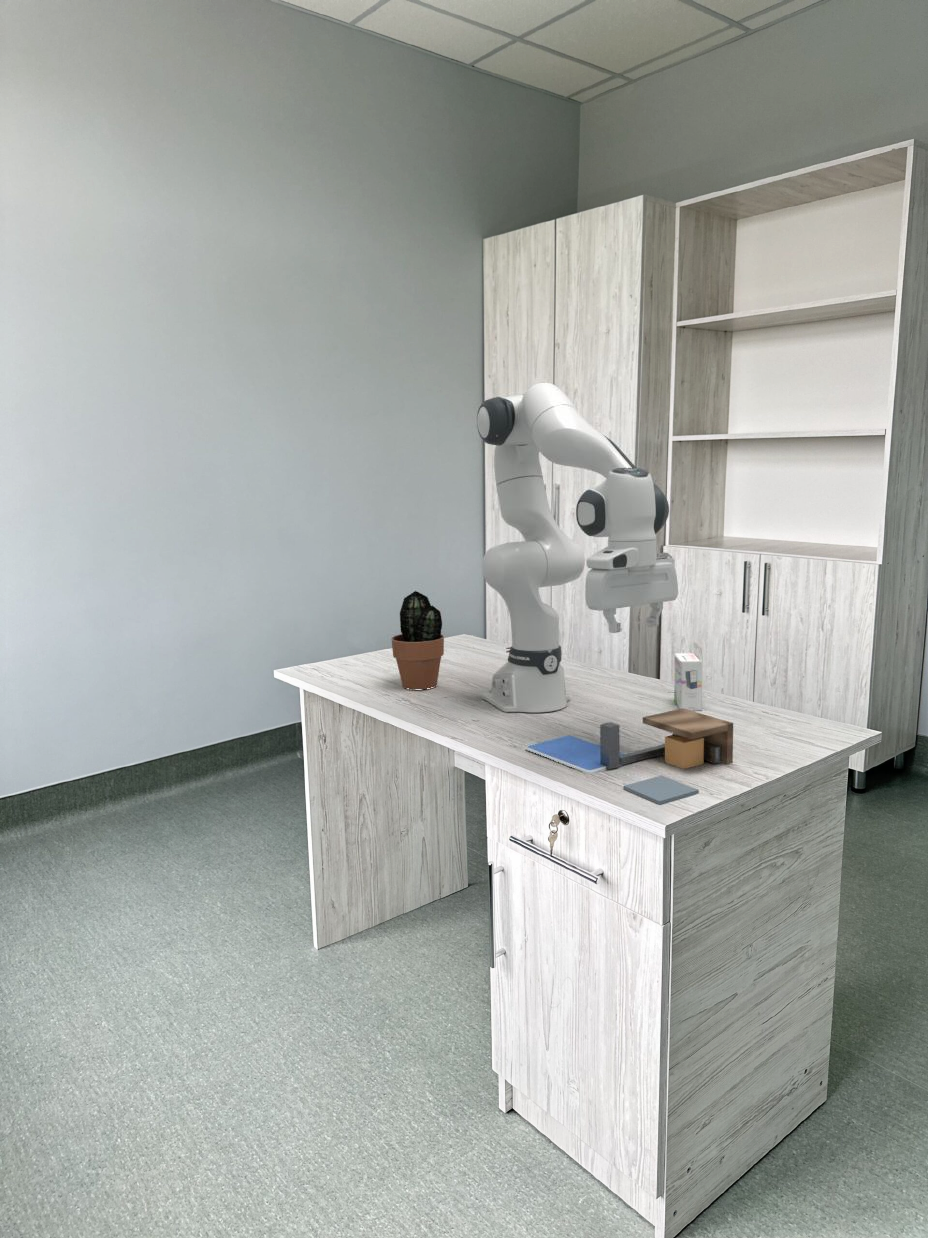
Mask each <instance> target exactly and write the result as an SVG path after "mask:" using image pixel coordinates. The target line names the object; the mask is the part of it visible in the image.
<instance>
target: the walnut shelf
mask: <svg viewBox="0 0 928 1238" xmlns="http://www.w3.org/2000/svg"><path fill="white" fill-rule="evenodd" d="M642 724H644V725H647V726H650V727H653V728H656V729H658V730H662V731H665V732H668V733H672V734H673V733H674V734H677V735H680V736H683V737H686V738H689V739H692V740H693V739H697V738H701V737H702V738H704V741H706V742H709V743H712V744H715V745H718V746H721V762H720V763H722V764H725V765H730V764H733V762H734V761H733V759H734V722H731V721H727V720H724V719H720V718H716V717H713V716H711V715H707V714H703V713H701V712H697V711H690V710H687V709H684V708H682V709H680V708H679V709H678V708H677V709H673V710H670V711H665V712H660V713H657V714H656V713H655V714H652V715H646V716H644V717H642Z"/></svg>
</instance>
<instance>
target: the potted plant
mask: <svg viewBox="0 0 928 1238" xmlns="http://www.w3.org/2000/svg"><path fill="white" fill-rule="evenodd" d="M428 597H429V596H427V595H424V594H422V593H421V592H418V591H417V590H414V591H413V592H412V593H410V594H408V595H407V596H405V597H404V598H403V601H402V605H401V608H400V611H399V622H400V624H399V625H400V626H399V627H400V634H397V635H394V636H391V647H392V649H391V650H392V656H393V658H394V659H395V661H396V665H397V668H398V671H399V677H400V681H401V685H402V688H403V687H405V688H409V689H427V688H431V687H434V686H436V685H437V686H438V679H439V673H440V668H441V667H440V666H441V661H442V657H443V656H444V654H445V653H444V652H445V651H444V650H445V647H444V646H445V645H444V644H445V635H443V634H442V630H443V629H442V627H443V620H442V619H443V618H442V614H441V611H440V610H439V609H437V608H436V607H435V606H434V605H431V601H430V600H429V598H428ZM437 686H436V687H437ZM405 688H404V689H405ZM434 688H435V687H434Z"/></svg>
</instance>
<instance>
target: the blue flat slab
mask: <svg viewBox="0 0 928 1238" xmlns="http://www.w3.org/2000/svg"><path fill="white" fill-rule="evenodd" d="M524 750H525V751H526V750H527V752H529V751H530V753H532V752H533V754H535V753H536V755H538V754H539V755H538V756H540V755H541V757H543V756H544V757H543V758H545V757H547V758H546V759H548V758H549V759H548V760H550V759H551V761H553V760H554V762H556V763H558V762H559V763H558V764H560V765H563V764H564V766H566V767H569V768H571V767H572V769H574V768H575V769H574V770H576V769H577V770H576V771H578V770H579V772H581V771H582V773H583V772H584V773H583V774H586V773H587V774H586V775H594V774H598V773H600V772H603V771H604V772H605V771H608V770H609V769H608V768H606V766H604V765H601V764H600V744H597V743H594V742H591V741H588V740H585V739H582V738H579V737H576V736H574V735H570V734H569V735H565V736H564V735H563V736H559V737H557V738H553V739H549V740H546V741H541V742H538V743H533V744H531V745H527V746H525V748H524ZM623 754H625V753H623V752H621V751H620V755H623ZM634 762H636V761H634ZM634 762H633V763H634ZM628 764H629V763H627V764H626V765H628ZM623 765H624V766H625V764H623ZM623 765H620V766H623Z"/></svg>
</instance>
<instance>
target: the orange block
mask: <svg viewBox="0 0 928 1238" xmlns="http://www.w3.org/2000/svg"><path fill="white" fill-rule="evenodd" d="M664 744H665V754H664V762H665V763H667V764H670V765H672V766H675V767H677V768H681V769H683V770H684V769H689V768H692V767H696V766H699V765H704V738H702V737H701V738H697V739H693V740H692V739H689V738H686V737H683V736H680V735H677V734H674V735H672V734H670V735H666V736H664Z"/></svg>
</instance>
